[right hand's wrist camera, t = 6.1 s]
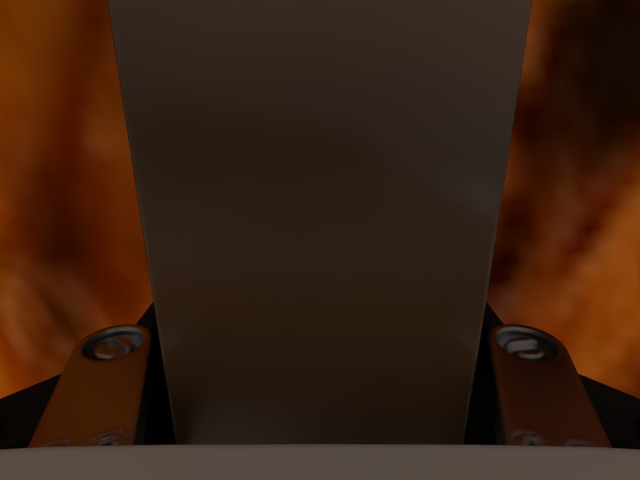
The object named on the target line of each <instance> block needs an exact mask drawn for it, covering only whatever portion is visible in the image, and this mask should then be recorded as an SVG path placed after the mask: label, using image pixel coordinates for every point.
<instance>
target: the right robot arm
mask: <svg viewBox="0 0 640 480" xmlns="http://www.w3.org/2000/svg"><path fill="white" fill-rule="evenodd" d="M0 480H640V399H638V398H636V397H634V396H631V395H629V394H626V393H624V392H621V391H619V390H616V389H614V388H612V387H609V386H607V385H604V384H602V383H599V382H597V381H594V380H592V379H590V378H587V377H585V376H582V375H580V374H578V373H577V370H576V368H575V366H574V364H573V362H572V360H571V357H570V355H569V353H568V351H567V349H566V348H565V346H564V345H563V344H562V342H561V341H559V340H558V339H557V338H555V337H554V336H552V335H550V334H548V333H546V332H544V331H542V330H539V329H536V328H533V327H529V326H524V325H515V324H507V325H504V324H503V323H502V322H501V320H500V319H499V318H498V316H497V315H496V314H495V312H494V311H493V310H492V309H491V307H490V306H489V305H488V303H487V302H486V304H485V311H484V317H483V324H482V330H481V337H480V343H479V350H478V356H477V363H476V369H475V376H474V383H473V389H472V396H471V402H470V409H469V415H468V422H467V428H466V435H465V441H464V445H399V444H241V445H176V444H175V438H174V431H173V425H172V418H171V412H170V405H169V399H168V392H167V386H166V379H165V373H164V366H163V360H162V353H161V347H160V340H159V334H158V327H157V321H156V314H155V308H154V301H153V303H152V304H151V305H150V307H149V308H148V309H147V311H146V312H145V313H144V315H143V316H142V317H141V319H140V320H139V321H138V323H137V324H136V325H133V324H125V325H116V326H111V327H107V328H104V329H101V330H98V331H96V332H94V333H92V334H90V335H88V336H86V337H85V338H83V339H82V340H81V341H79V342H78V344H77V345H76V346H75V348H74V349H73V351H72V353H71V355H70V357H69V360H68V362H67V364H66V366H65V368H64V370H63V373H62V374H60V375H57V376H55V377H53V378H50V379H48V380H45V381H43V382H40V383H38V384H35V385H33V386H31V387H28V388H26V389H23V390H21V391H18V392H16V393H14V394H11V395H9V396H6V397H4V398H1V399H0Z"/></svg>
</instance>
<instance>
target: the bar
mask: <svg viewBox="0 0 640 480" xmlns="http://www.w3.org/2000/svg"><path fill="white" fill-rule="evenodd" d="M107 2H108V9H109V15H110V22H111V28H112V35H113V41H114V48H115V54H116V61H117V67H118V74H119V80H120V87H121V93H122V100H123V106H124V113H125V119H126V126H127V132H128V139H129V145H130V152H131V158H132V165H133V171H134V178H135V184H136V191H137V197H138V204H139V210H140V217H141V223H142V230H143V236H144V243H145V249H146V256H147V262H148V269H149V275H150V282H151V288H152V295H153V301H154V308H155V314H156V321H157V327H158V334H159V340H160V347H161V353H162V360H163V366H164V373H165V379H166V386H167V392H168V399H169V405H170V412H171V418H172V425H173V431H174V438H175V444H176V445H241V444H399V445H464V441H465V435H466V428H467V422H468V415H469V409H470V402H471V396H472V389H473V383H474V376H475V369H476V363H477V356H478V350H479V343H480V337H481V330H482V324H483V317H484V311H485V304H486V298H487V291H488V285H489V278H490V271H491V265H492V258H493V252H494V245H495V239H496V232H497V226H498V219H499V213H500V206H501V200H502V193H503V187H504V180H505V174H506V167H507V160H508V154H509V147H510V141H511V134H512V128H513V121H514V115H515V108H516V102H517V95H518V89H519V82H520V76H521V69H522V63H523V56H524V49H525V43H526V36H527V30H528V23H529V17H530V10H531V4H532V0H107Z"/></svg>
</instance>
